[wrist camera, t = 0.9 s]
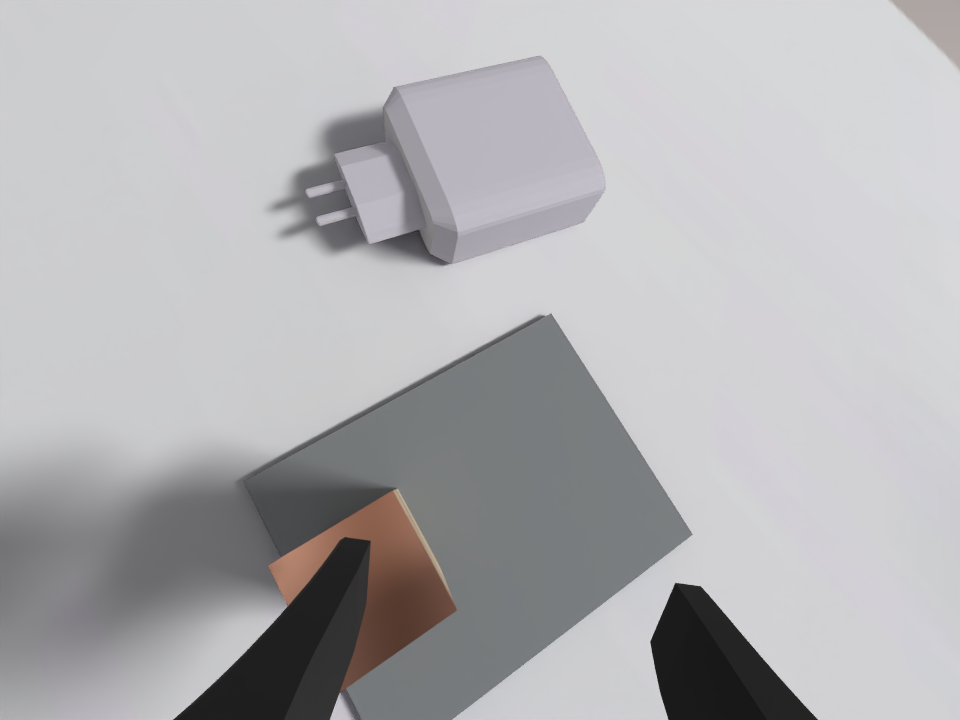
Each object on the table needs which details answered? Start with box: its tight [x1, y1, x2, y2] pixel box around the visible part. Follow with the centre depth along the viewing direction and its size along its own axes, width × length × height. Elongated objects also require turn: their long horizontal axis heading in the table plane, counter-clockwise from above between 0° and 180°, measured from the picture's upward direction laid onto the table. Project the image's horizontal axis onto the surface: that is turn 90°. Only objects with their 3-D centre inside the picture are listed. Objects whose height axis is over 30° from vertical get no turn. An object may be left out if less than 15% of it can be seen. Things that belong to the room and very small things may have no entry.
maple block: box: [268, 489, 457, 693], centre depth 18 cm, size 4×4×9 cm
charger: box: [305, 56, 605, 264], centre depth 26 cm, size 5×9×15 cm
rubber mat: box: [244, 314, 693, 720], centre depth 24 cm, size 18×14×1 cm
